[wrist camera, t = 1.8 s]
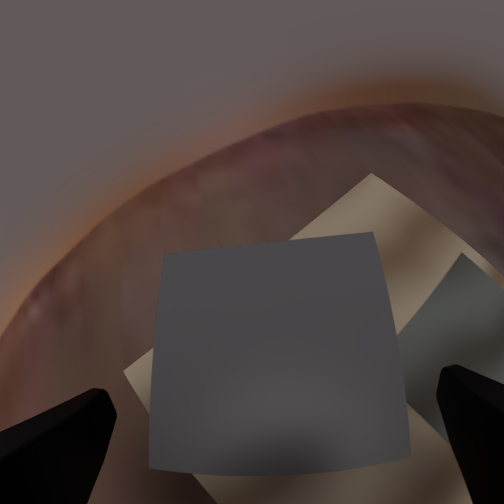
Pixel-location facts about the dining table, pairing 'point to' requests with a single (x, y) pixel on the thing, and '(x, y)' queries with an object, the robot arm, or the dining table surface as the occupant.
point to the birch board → (411, 352)
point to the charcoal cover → (276, 360)
